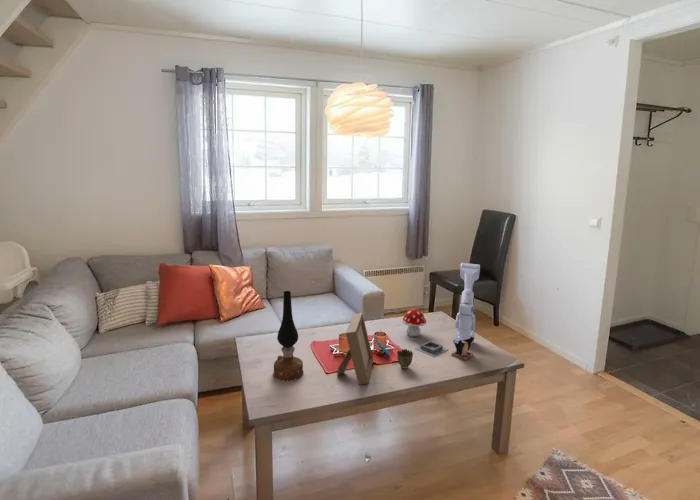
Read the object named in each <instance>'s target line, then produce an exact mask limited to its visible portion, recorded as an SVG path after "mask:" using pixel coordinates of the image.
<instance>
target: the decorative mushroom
mask: <svg viewBox="0 0 700 500" xmlns="http://www.w3.org/2000/svg"><path fill="white" fill-rule="evenodd" d="M401 323H402V324H403V325H405V326H407V327H406V331H405V332H406V334H407V336H408V337H412V338H413V337H414V338H417V337H419V336H420V335H421V328H420V327H423V326H425V325H426V324H427V319H426V318H425V315H424V313H423V312H422V311H421V310H420V309H417V308H410V309H407V311H405V313H404V316H403V317H402V318H401Z"/></svg>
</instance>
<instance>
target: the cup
mask: <svg viewBox="0 0 700 500" xmlns="http://www.w3.org/2000/svg"><path fill="white" fill-rule="evenodd" d="M396 353H397V355H396V357H397V363H398V364H399V366H400V368H401V369H402V370H408V369H409V366H410V365H411V364H412V361H413V356H414V352H413V351H412V350H409V349H406V348H405V349H403V348H402V349H401V350H400V349H399V350H397V351H396Z"/></svg>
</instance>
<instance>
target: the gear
mask: <svg viewBox="0 0 700 500" xmlns="http://www.w3.org/2000/svg"><path fill="white" fill-rule="evenodd" d="M375 340H376V339H375ZM375 340H374V342H375V343H376V344H377V346H378V345H379V347H380V348H382V351H383V352H384V353H385V354H386V355H388V356H389V355H391V352H390V351H389V350H388V349H387V348H386V347H385V348H386V349H387V350H388V351H387V350H386V349H385V348H384V347H382V346H381V345H380V343H379V342H380V341H379V340H378V339H377V340H378V341H379V342H378V341H377V340H376V341H375Z"/></svg>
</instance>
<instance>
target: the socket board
mask: <svg viewBox="0 0 700 500" xmlns="http://www.w3.org/2000/svg"><path fill="white" fill-rule="evenodd" d="M443 346H444V345H442V344H439V343H437V342H434V341H432V340H429V341H426V342H425V343H422V344H420V345H419V346H417V347H415V348H414V350H417V351H419V352H421V353H422V354H423V353H424V354H426V355H428V356H430V357H433V358H437V356H440V355H441V354H443V353H445V352H448V350H449V349H448V348H445V347H443Z"/></svg>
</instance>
